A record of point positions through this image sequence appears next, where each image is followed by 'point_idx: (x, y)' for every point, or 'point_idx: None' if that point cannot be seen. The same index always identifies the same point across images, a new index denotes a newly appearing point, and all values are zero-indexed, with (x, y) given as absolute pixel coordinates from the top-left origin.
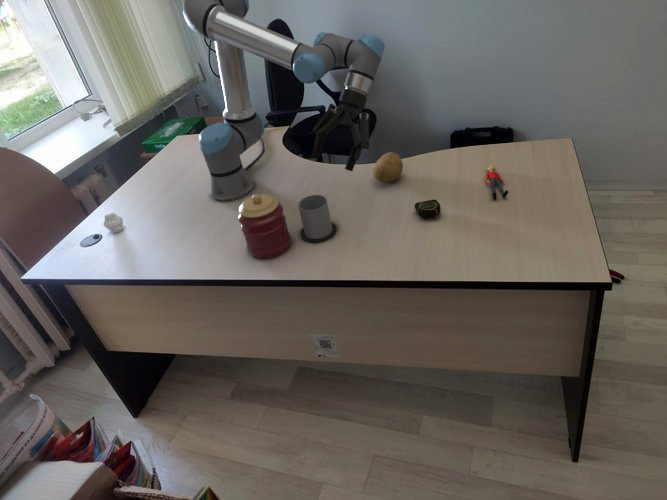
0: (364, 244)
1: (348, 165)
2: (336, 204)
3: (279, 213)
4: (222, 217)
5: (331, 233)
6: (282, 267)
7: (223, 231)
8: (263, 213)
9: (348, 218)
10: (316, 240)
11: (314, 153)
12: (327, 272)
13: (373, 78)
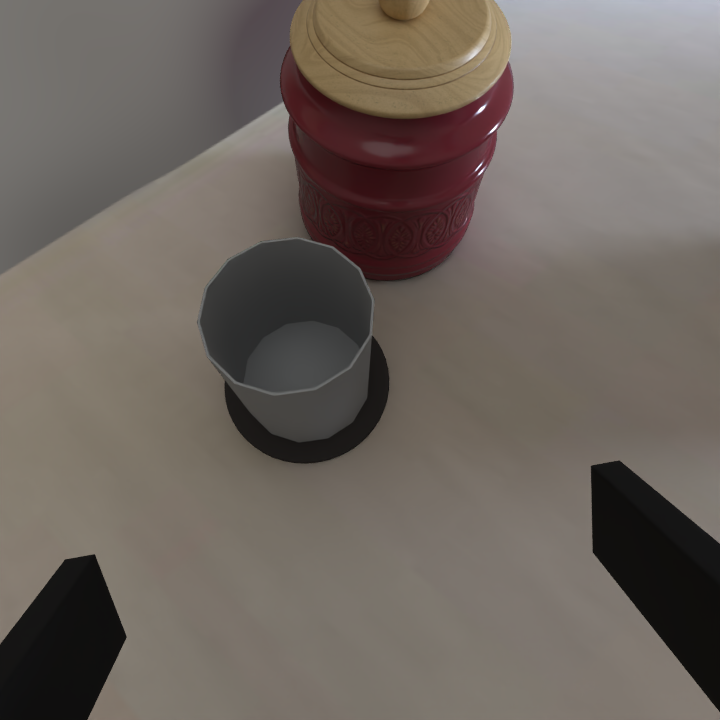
0: (64, 457)
1: (37, 600)
2: (438, 595)
3: (299, 113)
4: (716, 188)
5: (241, 405)
6: (242, 183)
7: (609, 153)
8: (300, 9)
9: (277, 547)
10: None
11: (619, 496)
12: (82, 261)
13: None
